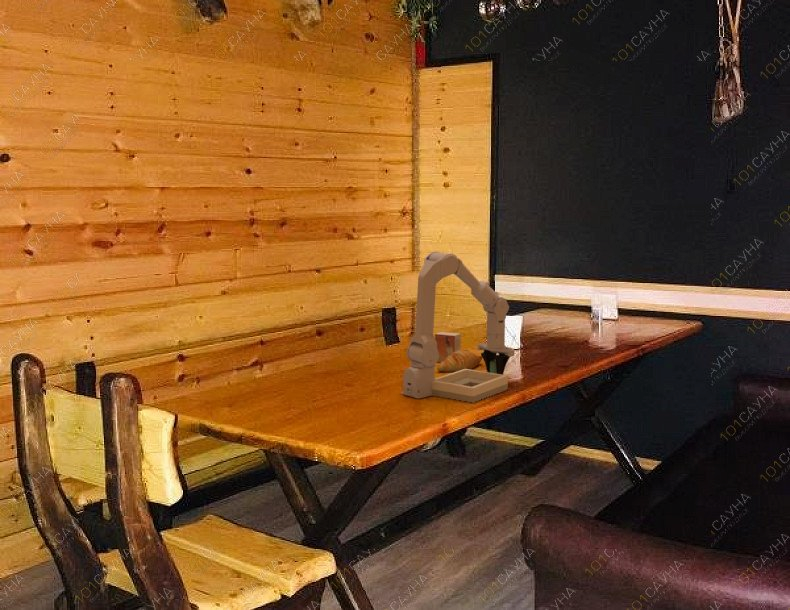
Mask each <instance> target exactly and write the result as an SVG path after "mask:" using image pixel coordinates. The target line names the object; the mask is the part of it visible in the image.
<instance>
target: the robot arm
mask: <svg viewBox="0 0 790 610" xmlns="http://www.w3.org/2000/svg"><path fill="white" fill-rule="evenodd" d="M451 275H454V276H456V277H457V278H458V279H459V280H461V281H462V283H463V284H465V285H467V287H469V288H470V289H471V290H470V294H471V295H472V296H473V297H474V299H476V300H477V301H478V302H479V303H480V304H481V305H482V308H483V310H484V311H485V312H486V343H477V350H478V351H483V352H481V353H480V356H482V360H483V362H484V364H485V367H486V372H489V373H490V361H493V360H495V361H496V367H497V374H502V375H504V374H505V369H506V366H507V364H508V362H509V359H511V357H514V356H515V349H513V348H509V347H508V346H507V345H505V343H506V339H505V338H506V333H505V332H506V329H505V328H506V318H507V313H508V312H509V309H510V305H509V304H508V301H507V299H505V298H504V297H501V296H499V292H498V291H495V290H494V289H493V288H492V287H491V286H490V285H491V284H490V283H489V282H488V281H484V280H480V281H479V280H478V278H477V277H476V276H475V275H474V274H473V273H472V272H471V271H470V270H469V269H468V268H467V266H466V265H465V264H464V263H463V261H462V259H460V258H458V256H457V255H456V254H454V253H444V252H440V251H432V252H430V253H429V254H428V255H427V256H425V257H424V261H423V266H422V268H421V270H420V272H419V274H418V277H417V293H416V294H417V296H416V315H415V316H416V317H415V330H414V331H415V334H413V335H412V336H411V337H410V339H409V345H408V347H407V350H406V356H407V358H408V359H409V361H410V366H409V367H407V368H406V369H404V371H403V374H402V391H401V394H402V395H403V396H408V397H412V398H415V399H423V398H427V397H431V396H433V395H434V394H432V381H434V380H435V378H436V377H435V373H436V372H435V368H436V364H437V363H438V362H437V361H438V359H439V352H438V350H437V342H436V340H435V336H434V326H435V308H436V292H437V291H436V289H437V288H436V287H437V284H438V283H439V282H440V281H441V280H443V279H445V278H447V277H449V276H451Z"/></svg>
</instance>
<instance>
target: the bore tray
mask: <svg viewBox="0 0 790 610" xmlns="http://www.w3.org/2000/svg"><path fill="white" fill-rule="evenodd" d="M507 389H508V390H509V375H507V374H503V375H502V374H495V373H489V372H487V371H484V370H482V371H481V370H476V369H463V370H460V371H457V372H451V373H447V374H445V375H442V376H439V377H435V380H434V381H432V394H434V395H432V396H433V397H438V396H439V397H440V398H443V397H444V399H448V398H450V400H454V399H456V400H455V401H459V400H461V401H460V402H464V401H467V402H466V403H470V402H472V403H471V404H474V402H475V403H477V402H480V401H481V399H482V400H485V399H487V398H490V397H493V396H495V395H497V393H498V394H500V393H502V392H505V391H507ZM494 394H495V395H494ZM492 395H493V396H492ZM489 396H490V397H489ZM486 397H487V398H486ZM484 398H485V399H484ZM479 400H480V401H479ZM476 401H477V402H476Z"/></svg>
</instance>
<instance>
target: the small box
mask: <svg viewBox="0 0 790 610" xmlns="http://www.w3.org/2000/svg"><path fill="white" fill-rule="evenodd" d="M434 338H435V340H436V342H437V350H438V352H439V359H438V361H437V363H441V362H442V361H444V360H445V359H446V358H447V357H448V356H450V354H451V353H453V352H454V351H458V350H462V348H461V347H462V345H461V343H462V333H459V332H446V331H440V332H437V333H435V336H434Z"/></svg>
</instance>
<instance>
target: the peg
mask: <svg viewBox="0 0 790 610" xmlns="http://www.w3.org/2000/svg"><path fill="white" fill-rule="evenodd" d="M490 373H495V374H497V367H496V361H495V360H493V361H490Z"/></svg>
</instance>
